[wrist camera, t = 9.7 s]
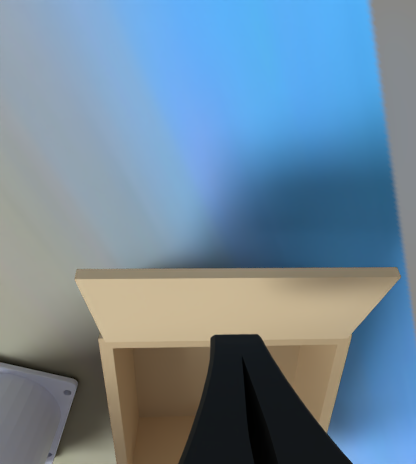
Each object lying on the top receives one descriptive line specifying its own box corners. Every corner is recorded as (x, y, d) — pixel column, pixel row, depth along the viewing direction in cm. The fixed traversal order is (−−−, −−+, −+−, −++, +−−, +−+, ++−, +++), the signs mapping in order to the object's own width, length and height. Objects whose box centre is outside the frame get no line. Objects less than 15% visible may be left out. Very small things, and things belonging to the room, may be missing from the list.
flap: (105, 342, 16) (106, 333, 16) (347, 338, 17) (344, 330, 17) (74, 279, 12) (76, 269, 12) (400, 276, 12) (396, 267, 13)
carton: (293, 411, 27) (314, 482, 22) (132, 415, 26) (120, 489, 22) (318, 277, 22) (352, 334, 17) (117, 278, 21) (98, 338, 17)
